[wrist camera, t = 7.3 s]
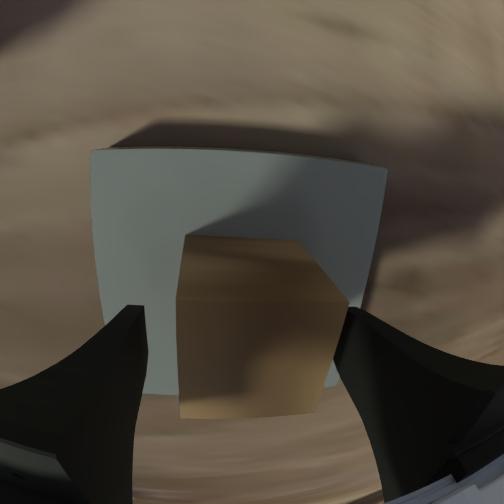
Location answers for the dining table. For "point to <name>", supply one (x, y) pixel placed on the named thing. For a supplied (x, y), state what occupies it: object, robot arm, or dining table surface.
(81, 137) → the dining table surface
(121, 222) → the plinth
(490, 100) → the dining table surface
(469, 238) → the dining table surface
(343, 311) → the walnut cube
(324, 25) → the dining table surface
